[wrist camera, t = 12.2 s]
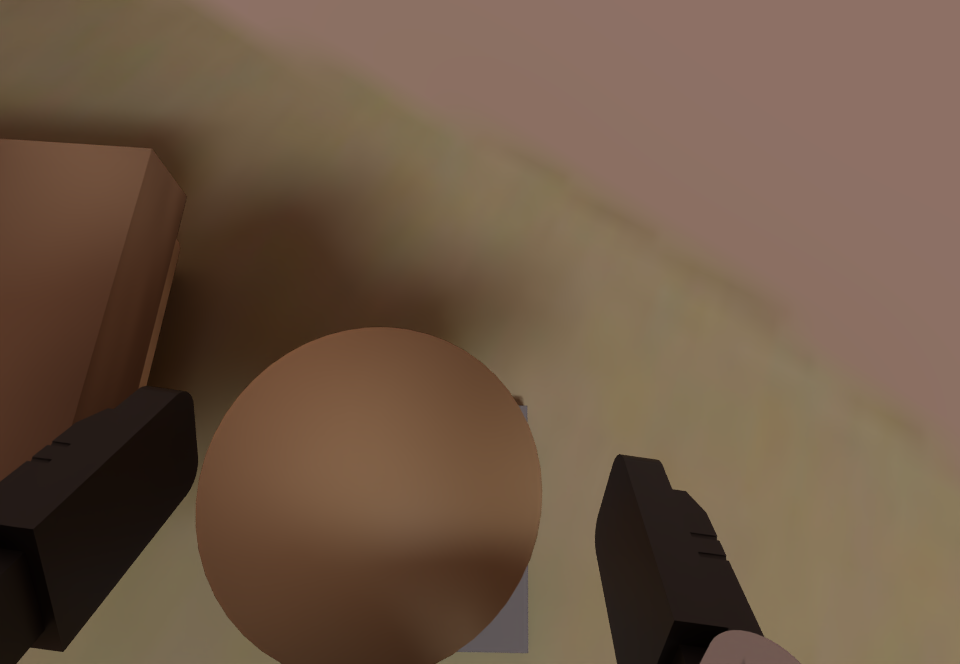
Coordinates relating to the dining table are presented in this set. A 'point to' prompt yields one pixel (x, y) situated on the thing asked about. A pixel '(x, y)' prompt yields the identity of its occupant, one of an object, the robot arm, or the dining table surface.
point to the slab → (78, 283)
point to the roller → (369, 501)
